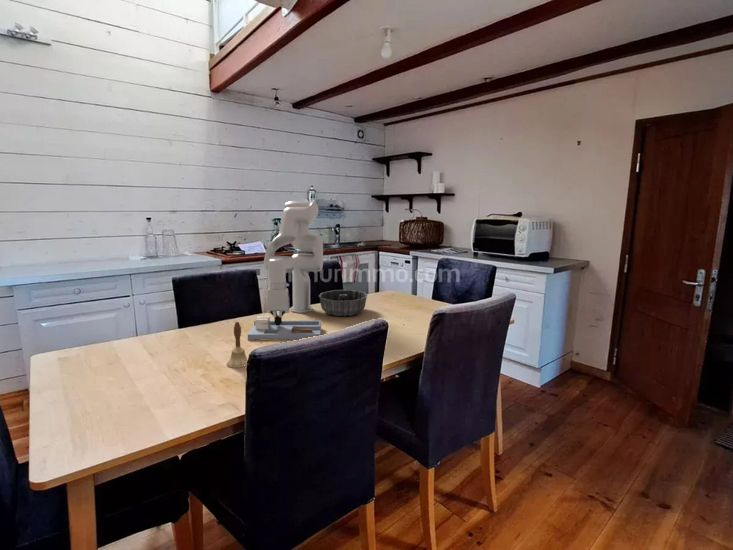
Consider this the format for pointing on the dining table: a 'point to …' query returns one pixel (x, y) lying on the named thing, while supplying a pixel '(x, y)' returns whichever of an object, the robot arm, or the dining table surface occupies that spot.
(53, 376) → the dining table surface
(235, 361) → the hand bell
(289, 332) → the tray
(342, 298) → the bundt pan
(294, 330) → the crook tool
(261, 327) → the cream block
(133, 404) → the dining table surface
